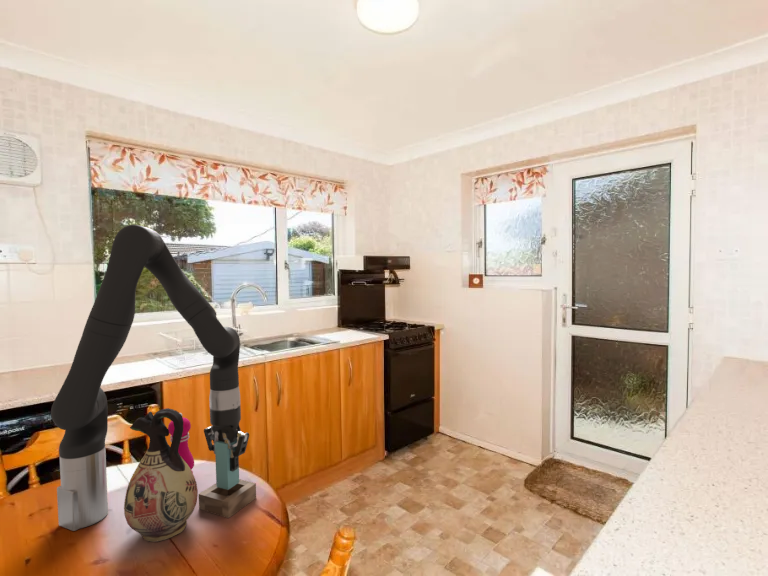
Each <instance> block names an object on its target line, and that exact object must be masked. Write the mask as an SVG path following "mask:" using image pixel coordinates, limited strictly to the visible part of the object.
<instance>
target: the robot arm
mask: <svg viewBox="0 0 768 576" xmlns="http://www.w3.org/2000/svg"><path fill="white" fill-rule="evenodd" d="M109 254H110V255H109V259H108V263H107V266H106V270H105V274H104V277H103V280H102V281H101V284H100V287H99V289H98V292H97V294H96V297H95V300H94V302H93V305H92V307H91V310H90V311H89V314H88V317H87V319H86V322H85V324H84V328H83V331H82V335H81V336H80V339H79V343H78V346H77V349H76V352H75V354H74V358H73V360H72V363H71V366H70V369H69V371H68V374H67V375H66V378H65V379H64V382H63V383H62V386H61V387H60V389H59V391H58V394H56V397H55V399H54V401H53V403H52V405H51V409H50V414H51V420H52V422H53V423H54V424H55V426H56V427H57V428H59V429H60V430H63V431H64V434H63V437H62V439H61V441H60V443H59V447H58V452H59V453H58V455H59V472H60V473H59V474H60V485H59V486H56V487H57V488H56V497H57V498H56V499H57V517H58V519H57V520H58V526H59V527H62V528H65V529H66V530H67V529H68V530H70V531H71V532H72V531H73V532H74V531H77V530H80V529H83V528H86V527H89V526H92V525H94V524H97V523H98V522H101V521H102V520H103V519H104V518H106V517H107V515H108V513H109V499H108V498H109V497H108V480H107V475H108V474H107V459H106V458H107V453H106V438H107V434H108V425H109V424H108V421H109V420H108V419H109V418H108V417H109V416H108V414H109V412H108V400H107V399H108V398H107V395H106V393H105V390H103V388H101V386H102V383H103V380H104V378H105V376H106V374H107V372H108V370H109V369H110V368H111V366H112V364H113V363H114V361H115V360H116V359H117V357H118V355H119V354H120V352H121V350H122V349H123V347H124V345H125V343H126V340H127V339H128V336H129V333H130V331H131V328H132V325H133V323H134V319H135V315H136V296H137V295H136V292H137V287H138V282H139V280H140V277H141V275H142V273H143V270H144V268H146V269H147V270H148V271H149V272H151V274H152V275H153V276H154V277H155V278H156V279H157V281H158V282H159V283H160V284H161V286H162V287H163V289H164V291H165V292H166V294H167V297H168V298H169V300H170V302H171V304H172V305H173V306H174V308H175V309H176V311H177V312H178V313H179V314H180V316H182V318H183V319H184V320H185V322H186V323H187V324H188V326H190V327H191V328H192V329H193V332H194V334H195V336H196V337H197V339H198V341H199V342H200V344H201V345H202V347H203V348H204V349H205V351H207V353H209V355H211V356H212V358H213V359H212V366H211V367H210V371H209V422H210V425H211V426H208V427H206V428H204V429H203V433H204V437H205V440H206V444H207V447H208V451H210V452H213V454H214V455H215V442H219V441H222V442H225V444H227V445H228V446H227V448H228V449H229V455H230V471H232V472H233V471H235V470H236V469H237V468H238V467H239V468H240V466H239V465H240V460H239V459H240V458H239V457H240V456H241V455H243V454H245V453H246V450H247V446H248V442H249V438H250V433H249V432H245V433H244V432H243V431H241V427H240V422H241V419H242V414H241V413H242V409H241V407H242V406H241V392H240V384H239V383H240V381H239V380H240V379H239V378H240V376H239V360H240V350H241V349H240V348H241V342H240V341H241V340H240V336H239V333H238V331H236V329H234V328H233V327H229V326H223V325H222V323H221V321H220V320H219V319H218V317H217V311H216V310H215V308H214V307H213V306H212V305H211V303H210V302H209V301H208V300H207V298H206V297H205V296H204V295H203V294H202V292H200V291H199V289H198V288H197V287H196V285H195V284H194V283H193V282H192V281H191V280H190V279H189V277H188V276H187V275H186V273H185V272H184V271H183V269H182V268H181V267H180V265H179V263H178V262H177V261H176V259H175V258H174V256H173V255H172V253H171V250H169V248H168V246H167V244H166V242H165V241H164V239H163V237H162V236H161V235H160V233H158V231H156V230H155V229H152V228H149V227H147V226H142V225H139V224H129V225H126V226H124V227H122V228H120V230H119V231H118V232H117V234H116V235H115V236H114V239H113V242H112V245H111V250H110V253H109ZM235 440H236V442H235V443H234V444H232V445H231V443H233V442H234V441H235ZM234 447H235V451H233V448H234ZM214 458H215V457H214ZM215 460H216V458H215Z"/></svg>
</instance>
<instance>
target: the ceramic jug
mask: <svg viewBox="0 0 768 576" xmlns="http://www.w3.org/2000/svg"><path fill="white" fill-rule="evenodd" d="M180 413H181V412H179V411H177V410H175V409H172V408H162V409H160V410H158V411H156V412H155V414H154V413H153V412H152V411H148V413H147V414H146V415H144V417H142V416H141V417H138V418H136V420H134V422H133V423H132V424H131V426H130V427H129V429H130V430H133V431H135V432H141V433H142V434H144V435H146V436H147V437H148V438H149V442H148V448H147V449H146V452H145V453H144V455H143V457H142V458H141V460H139V462H138V464H137V467H136V468H135V470H134V472H133V473H132V475H131V477H130V480H129V483H128V485H127V488H126V492H125V496H124V504H123V512H124V513H123V514H124V518H125V521H126V523H127V525H128V526H129V528H131V530H133V531H135V532H136V533H138V534H139V535H141V536H142V538H143V540H144V541H148V542H151V543H153V542H155V543H156V542H157V543H158V542H161V541H164V540H168V539H171V538H172V537H175V536H176V535H178V534H181V533H182V532H183V531H184V530H185V529H186V527H187V523H188V519H189V518H190V517H191V516H192V514H193V512H194V511H195V508H196V505H197V503H198V497H199V493H198V489H199V488H198V484H197V481H196V477H195V475H194V472H193V473H192V471H193V470H192V471H191V469H190V467H189V466H188V464H187V463H186V462H185V461H184V460H183V459H182V457H181V456H180V455H179V453H178V449H179V445H180V441H181V437H182V433H183V422H184V421H183V418H182V417H183V415H182V416H181V414H182V413H181V414H180ZM164 418H165V419H169V420H170V422H171V421H173V424H174V433H173V437H172V442H171V444H170V445H169V444H168V441H167V438H166V437H168V436H170V433H169V430H168V426H166V424H165V423H164V422H163V419H164Z"/></svg>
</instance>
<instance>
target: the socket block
mask: <svg viewBox="0 0 768 576" xmlns="http://www.w3.org/2000/svg"><path fill="white" fill-rule="evenodd" d="M256 498H257V483H256V482H252V481H247V480H244V479H241V478H239V483H238V484H236V485H235V486H233V487H232V488H230V489H229V490H227V489H223V488H219V487H216V483H214V484H212V485H211V486H209V487H207V488H206V489H204V490H203V491H201V492H200V493H198V510H201V511H204V512H207V513H211V514H214V515H217V516H220V517H223V518H227V519H230V518H231V517H232V516H234V515H236V513H238V512H239V511H240V510H242V509H243V508H244V507H246V506H248V505H249V503H251V502H253V501H254V500H255V499H256Z"/></svg>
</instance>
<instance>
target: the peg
mask: <svg viewBox="0 0 768 576" xmlns="http://www.w3.org/2000/svg"><path fill="white" fill-rule="evenodd" d="M235 442H236V440H235V441H234V442H233V443H231V445H232V444H234V443H235ZM227 446H228V445H227V444H225V442H222V441H219V442H215V454H214V455H215V457H214V458H216V459H215V480H216V481H215V482H216V483H215V484H216V487H219V488H223V489H227V490H229V489H230V488H232V487H233V486H235V485H236V484H238V483H239V479H240V466H239V467H238V468H237V469H236V470H235V471H233V472H232V471H230V455H229V449H228V448H227ZM233 451H235V447H234V448H233Z"/></svg>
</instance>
